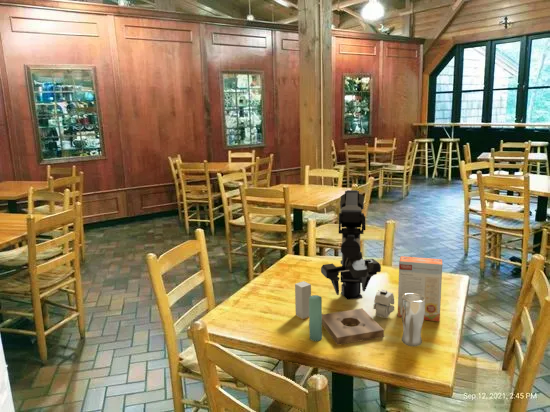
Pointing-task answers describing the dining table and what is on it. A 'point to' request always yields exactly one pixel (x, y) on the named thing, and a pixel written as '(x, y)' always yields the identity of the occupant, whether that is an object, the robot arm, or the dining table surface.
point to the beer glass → (412, 318)
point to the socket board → (346, 334)
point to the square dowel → (302, 299)
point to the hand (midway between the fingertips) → (350, 292)
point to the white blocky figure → (383, 303)
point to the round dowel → (315, 317)
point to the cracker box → (421, 283)
